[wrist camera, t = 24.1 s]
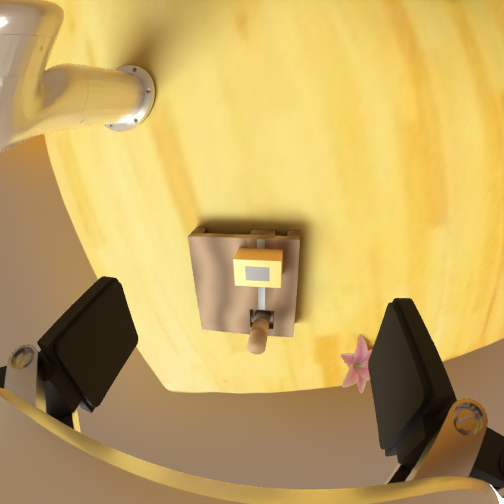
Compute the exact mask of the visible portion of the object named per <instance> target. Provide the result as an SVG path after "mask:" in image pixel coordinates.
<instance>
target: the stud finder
mask: <svg viewBox="0 0 504 504" xmlns="http://www.w3.org/2000/svg"><path fill="white" fill-rule="evenodd" d="M233 263H234V277H235V285H237V286H253V287H271V288H281V282H282V270H283V250H281V249H255V248H238V250H237V253H236V255H235V257H234V259H233Z"/></svg>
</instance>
